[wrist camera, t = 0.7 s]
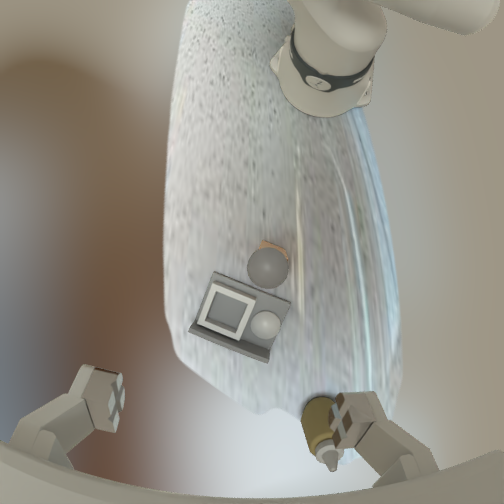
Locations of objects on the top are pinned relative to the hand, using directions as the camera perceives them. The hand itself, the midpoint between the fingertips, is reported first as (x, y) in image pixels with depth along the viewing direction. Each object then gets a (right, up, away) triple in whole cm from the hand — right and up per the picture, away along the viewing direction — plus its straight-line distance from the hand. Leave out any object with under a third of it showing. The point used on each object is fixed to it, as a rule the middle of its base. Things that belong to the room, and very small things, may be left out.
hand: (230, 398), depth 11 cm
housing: (-1, -5, +44) cm, 44 cm away
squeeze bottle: (+14, -25, +45) cm, 54 cm away
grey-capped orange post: (+4, +5, +42) cm, 43 cm away
